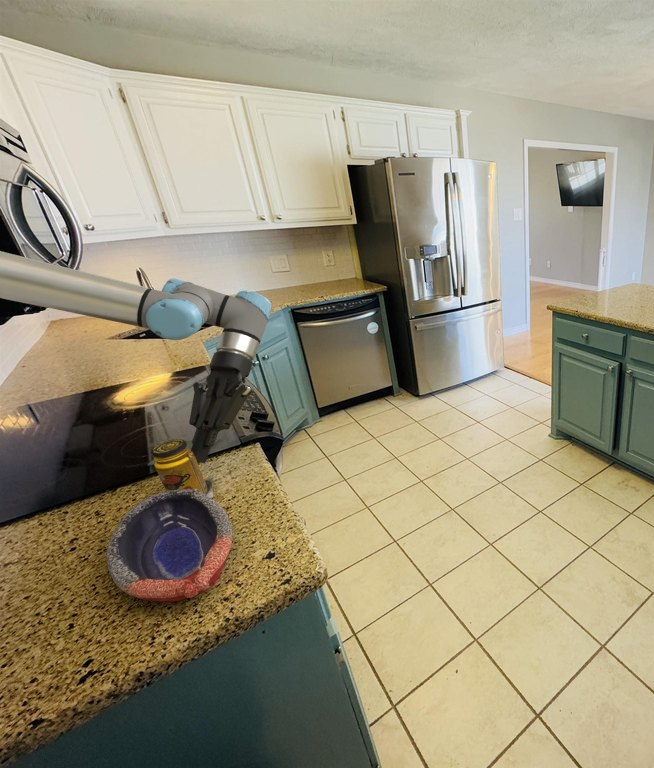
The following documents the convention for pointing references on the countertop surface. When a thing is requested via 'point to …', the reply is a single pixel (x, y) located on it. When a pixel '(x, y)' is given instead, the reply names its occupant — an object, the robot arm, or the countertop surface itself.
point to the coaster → (189, 444)
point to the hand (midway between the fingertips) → (196, 461)
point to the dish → (170, 546)
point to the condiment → (180, 468)
